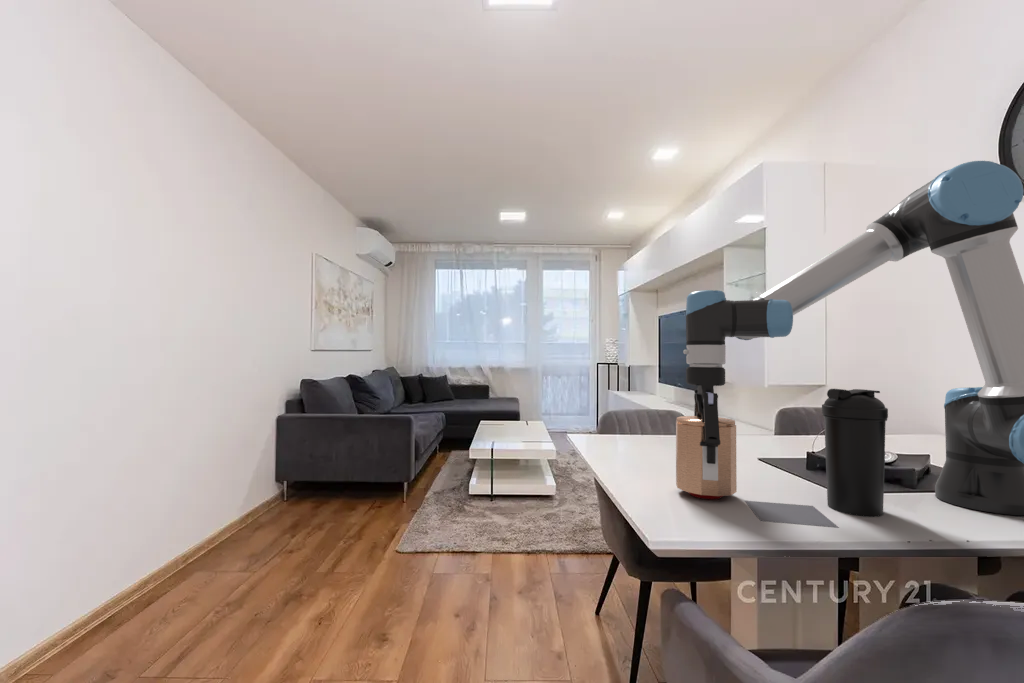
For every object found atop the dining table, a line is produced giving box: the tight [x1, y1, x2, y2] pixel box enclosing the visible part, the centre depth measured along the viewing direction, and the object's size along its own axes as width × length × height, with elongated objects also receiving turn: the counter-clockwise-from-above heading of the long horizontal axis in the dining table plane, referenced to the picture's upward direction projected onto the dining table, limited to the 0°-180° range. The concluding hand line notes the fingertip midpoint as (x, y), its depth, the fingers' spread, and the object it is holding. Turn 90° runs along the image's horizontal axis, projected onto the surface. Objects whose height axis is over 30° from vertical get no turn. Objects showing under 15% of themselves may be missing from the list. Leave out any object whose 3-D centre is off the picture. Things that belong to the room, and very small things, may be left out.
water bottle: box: [821, 388, 889, 518], centre depth 91 cm, size 10×10×23 cm
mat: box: [744, 500, 840, 529], centre depth 88 cm, size 12×12×1 cm
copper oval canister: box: [675, 415, 738, 497], centre depth 99 cm, size 11×11×14 cm
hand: (705, 472), depth 99 cm, fingers closed on copper oval canister, 11 cm apart
